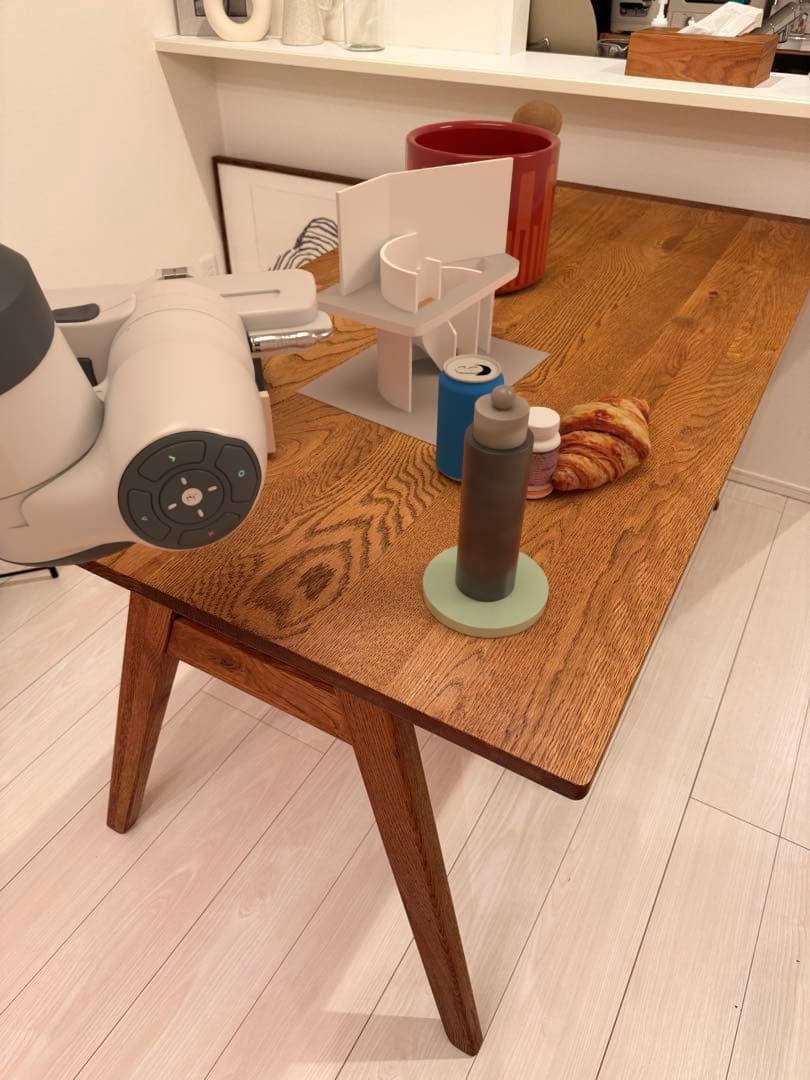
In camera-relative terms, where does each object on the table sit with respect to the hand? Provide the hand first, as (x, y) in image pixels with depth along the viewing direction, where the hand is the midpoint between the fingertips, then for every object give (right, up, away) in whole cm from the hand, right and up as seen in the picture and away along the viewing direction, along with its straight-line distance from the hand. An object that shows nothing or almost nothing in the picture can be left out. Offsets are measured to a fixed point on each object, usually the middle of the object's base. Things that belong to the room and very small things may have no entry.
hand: (176, 277), depth 60 cm
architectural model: (+21, +1, +39) cm, 44 cm away
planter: (+29, +23, +66) cm, 76 cm away
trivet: (+25, -25, +7) cm, 36 cm away
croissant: (+40, -12, +24) cm, 48 cm away
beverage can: (+25, -13, +22) cm, 36 cm away
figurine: (+42, +42, +88) cm, 106 cm away
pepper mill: (+25, -24, +7) cm, 36 cm away
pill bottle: (+31, -15, +20) cm, 40 cm away
